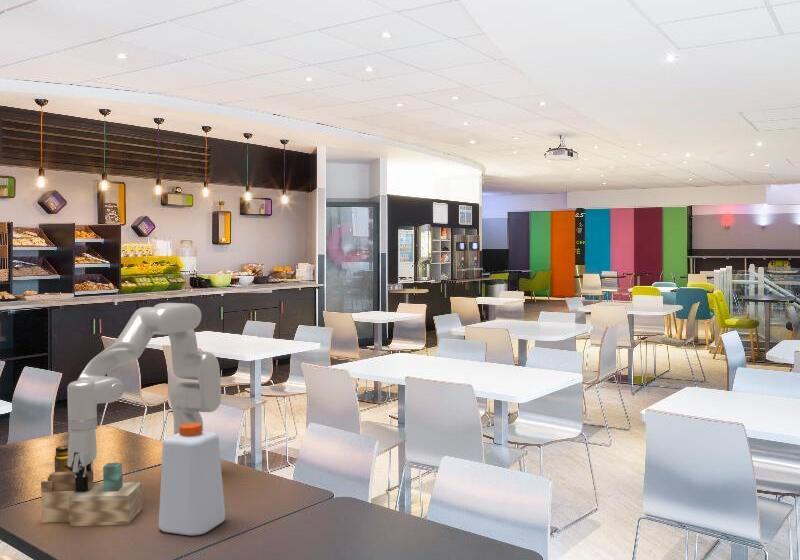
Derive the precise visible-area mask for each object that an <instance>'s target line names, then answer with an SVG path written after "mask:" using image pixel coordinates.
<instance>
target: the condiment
mask: <svg viewBox="0 0 800 560" xmlns="http://www.w3.org/2000/svg"><path fill="white" fill-rule="evenodd" d="M54 472H73V466H72V467H68V444H67V445H61V446H57V447H56V448H55V455H54Z"/></svg>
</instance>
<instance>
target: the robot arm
mask: <svg viewBox="0 0 800 560" xmlns="http://www.w3.org/2000/svg"><path fill="white" fill-rule="evenodd" d="M201 321H202V311H201V309H200V308H199V306H197V305H196V304H194V303H187V302H186V303H185V302H181V303H180V302H163V303H162V302H161V303H157V304H155V305H154V306H145V307H140V308H138V309H136V310H135V311H134V313H133V314H132V315H131V317H130V319H129V320H128V322H127V323H126V325H125V327H124V328H123V330H122V331H121V333H120V335H118V337H117V338H116V340H115V341H114V343H112V344H111V345H109V346H108V347H107V348H105V349H103V350H102V351H101V352H99V353H98V354H97V355H96V356H94V357H93V358H92V359H90V361H89V362H88V363H87V364H86V365H85V368H84V369H83V370H82V372H81V373H80V374H79V377H78V378H77V379H76V380H74V381H71V382H70V383H68V385H67V387H66V390H67V421H68V422H67V423H68V424H67V427H68V428H67V429H68V432H69V433H68V443H67V445H68V467H72V466H73V473H75V485H76V491H87V490H88V476H86V471H93V472H94V468H93V465H94V464H93V463H94V461H95V460H96V458H97V454H98V453H97V452H98V451H97V450H98V449H97V448H98V447H97V434H96V430H98V412H97V411H98V410H97V407H98V404H109V403H110V404H111V403H114V402H116V401H118V400H120V399H121V398H122V396H123V395H124V391H125V387H124V386H125V385H124V383H123V382H122V381H121V379H119V378H117V377H114V376H106V375H107V374H109V373H110V372H111V371H112V370H115V369H116V368H118V367H120V366H123V365H125V364H126V365H127V364H129V363H131V362H134V361H136V360H138V359H139V358H140V357H141V355H143V352H144V351H145V349H146V347H147V346H148V345H149V343H150V341H151V339H152V338H153V336H154V335H165V336H168V339H169V343H170V352H171V354H170V355H171V364H172V365H171V366H172V371H173V374H174V376H175V377H177V378H179V379H183V380H184V379H185V380H192V381H181V382H179V383H176V384H174V386H173V387H172V389H171V391H170V394H169V395H170V396H169V401H170V406H171V411H172V416H173V435H175V434H177V433H179V427H180V426H181V425H183V424H187V423H199V424H201V425H202V431H204V421H203V417H202V415H201V413H213V412H215V411H216V410H218V408H219V407H220V405H221V401H222V385H221V370H220V364H219V360H218V358H217V356H216V355H215V354H213V352H209V351H200V350H199V349H198V342H197V336H196V335H197V334H196V332H195V330H194V329H196V328H197V327H198V326H199V325H200V323H201ZM193 381H198V382H193Z"/></svg>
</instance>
